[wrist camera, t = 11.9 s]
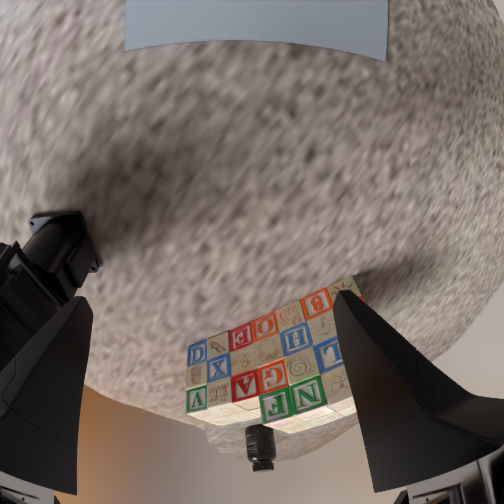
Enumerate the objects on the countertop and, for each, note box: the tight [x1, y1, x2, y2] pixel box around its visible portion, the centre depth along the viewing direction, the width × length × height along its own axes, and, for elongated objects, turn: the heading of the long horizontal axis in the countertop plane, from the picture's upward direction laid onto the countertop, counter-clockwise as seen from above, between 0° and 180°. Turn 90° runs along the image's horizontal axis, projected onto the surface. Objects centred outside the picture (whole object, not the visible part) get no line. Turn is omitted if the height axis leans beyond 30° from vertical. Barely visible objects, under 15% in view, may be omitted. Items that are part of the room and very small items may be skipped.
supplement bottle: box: [245, 424, 277, 472], centre depth 53 cm, size 7×7×12 cm
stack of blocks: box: [186, 276, 365, 434], centre depth 27 cm, size 21×6×12 cm, turn 120°
